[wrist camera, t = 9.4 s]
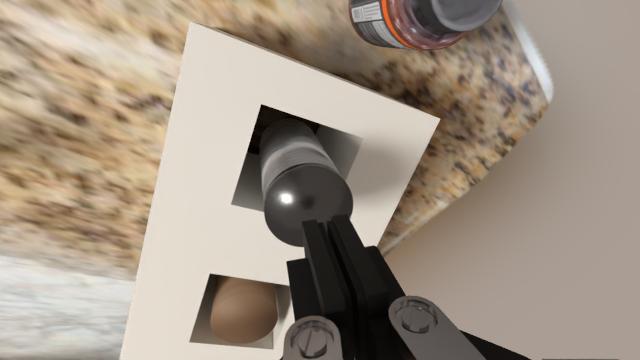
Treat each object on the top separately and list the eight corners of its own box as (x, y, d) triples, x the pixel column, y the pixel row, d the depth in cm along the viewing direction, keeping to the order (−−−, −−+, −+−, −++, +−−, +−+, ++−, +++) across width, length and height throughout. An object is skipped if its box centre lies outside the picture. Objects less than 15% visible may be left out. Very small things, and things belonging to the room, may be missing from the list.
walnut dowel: (217, 226, 28) (203, 302, 20) (267, 218, 29) (273, 288, 21) (226, 265, 30) (217, 349, 22) (273, 257, 30) (281, 335, 22)
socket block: (213, 27, 23) (190, 21, 14) (378, 92, 27) (440, 118, 18) (157, 266, 30) (118, 363, 21) (296, 287, 34) (311, 375, 25)
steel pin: (255, 122, 21) (257, 175, 13) (314, 115, 21) (352, 161, 13) (263, 177, 23) (270, 254, 15) (318, 169, 23) (354, 239, 15)
